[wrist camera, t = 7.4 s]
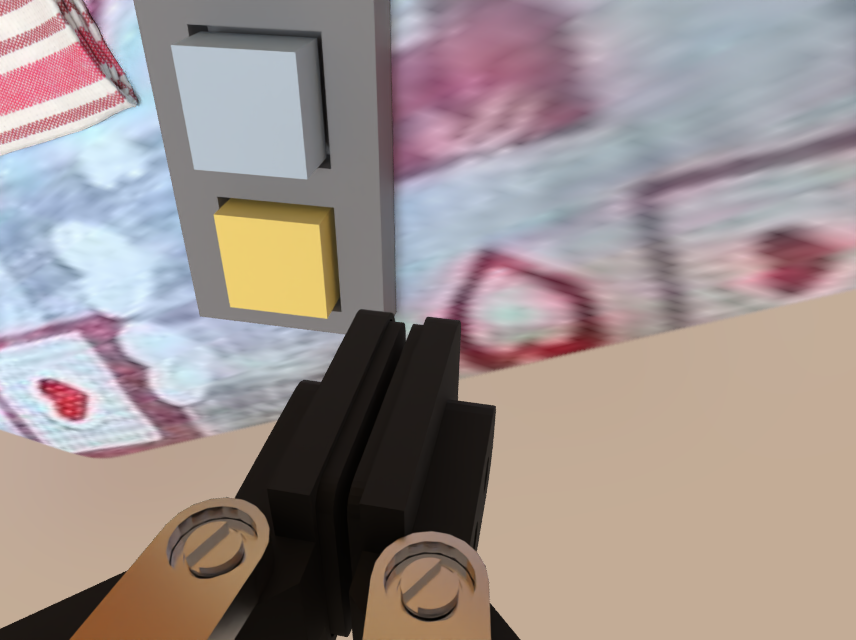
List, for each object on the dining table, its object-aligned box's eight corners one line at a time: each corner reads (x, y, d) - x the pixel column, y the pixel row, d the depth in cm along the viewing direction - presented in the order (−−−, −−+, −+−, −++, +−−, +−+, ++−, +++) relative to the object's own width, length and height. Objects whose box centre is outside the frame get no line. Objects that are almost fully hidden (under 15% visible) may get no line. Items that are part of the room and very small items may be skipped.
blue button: (317, 37, 33) (295, 52, 31) (326, 157, 37) (307, 179, 34) (200, 31, 34) (170, 45, 32) (220, 148, 38) (194, 169, 35)
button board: (384, -253, 29) (365, -263, 26) (396, 312, 44) (384, 339, 42) (120, -250, 30) (78, -259, 28) (220, 291, 46) (200, 316, 44)
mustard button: (336, 201, 39) (319, 224, 37) (342, 292, 43) (327, 318, 40) (236, 192, 40) (213, 214, 38) (250, 281, 43) (230, 306, 41)
